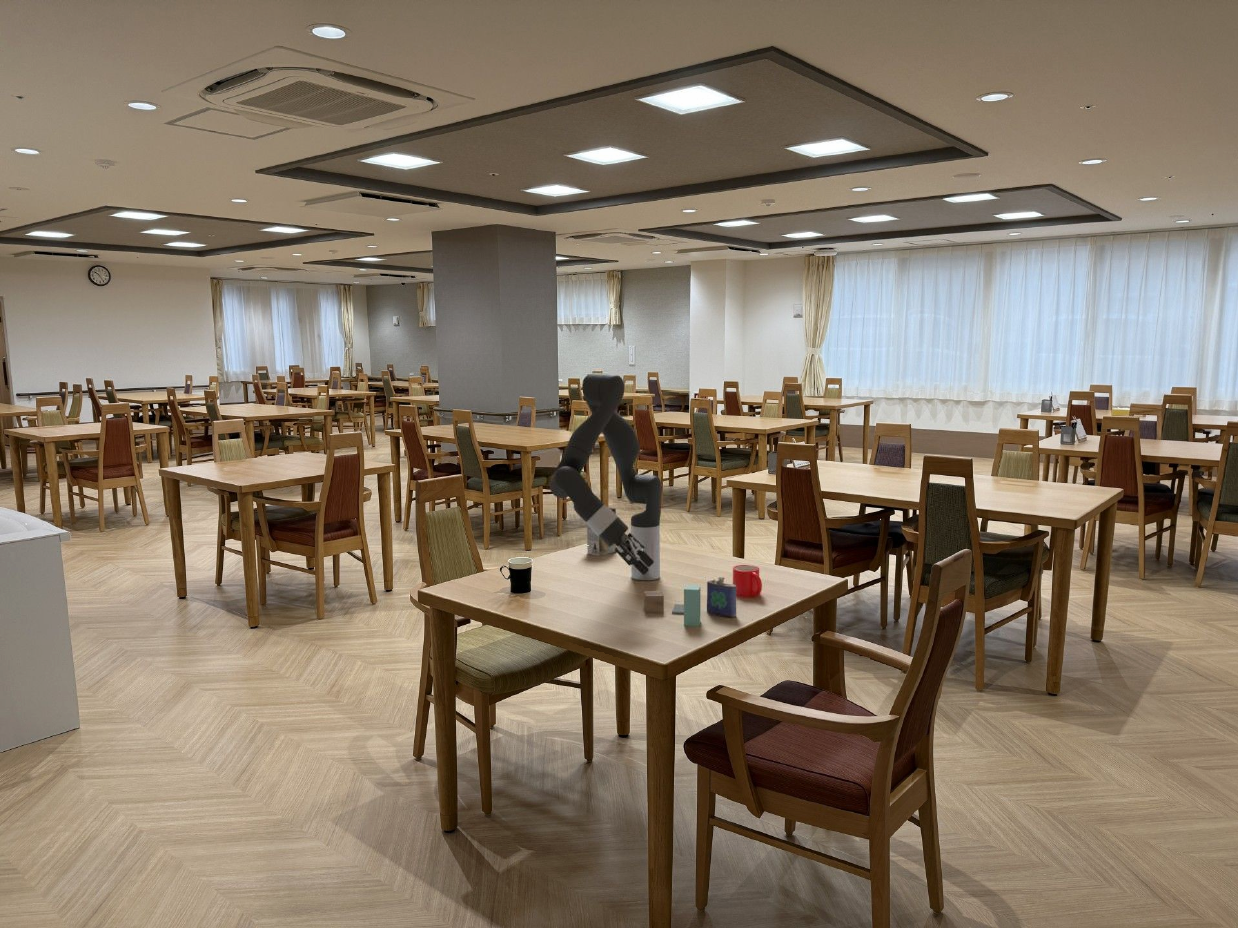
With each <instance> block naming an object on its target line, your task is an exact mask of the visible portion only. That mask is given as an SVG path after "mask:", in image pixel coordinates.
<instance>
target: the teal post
mask: <svg viewBox="0 0 1238 928" xmlns="http://www.w3.org/2000/svg"><path fill="white" fill-rule="evenodd" d="M683 605H684V614H683V626H685V627H687V626H690V627H699V626H700V624H701V585H693V584H692V585H691V584H687V585H686V584H685V586H684V588H683Z"/></svg>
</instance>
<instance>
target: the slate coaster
mask: <svg viewBox="0 0 1238 928" xmlns="http://www.w3.org/2000/svg"><path fill="white" fill-rule="evenodd" d="M671 615H684V603H682V604H681V603H678V604H676V603H675V604H674V606H673V609H672V611H671Z"/></svg>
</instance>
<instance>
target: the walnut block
mask: <svg viewBox="0 0 1238 928" xmlns="http://www.w3.org/2000/svg"><path fill="white" fill-rule="evenodd" d="M664 597H665V596H664V593H663V591H662V590H644V591H643V600H644V601H643V602H644V603H643V608H644V611H645V613H646V614H657V613H658V614H663V613H665V603H664V602H665V601H664V599H665V598H664Z"/></svg>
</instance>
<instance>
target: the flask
mask: <svg viewBox="0 0 1238 928" xmlns="http://www.w3.org/2000/svg"><path fill="white" fill-rule="evenodd" d="M717 579H718V580H717ZM717 579H713V580H712V579H711V580H708V581H707V582H706V585H707V586H706V613H707V614H710V615H714V616H719V617H724V618H729V619H730V618H731V619H734V618H736V617H737V596H736V590H737V588H736V585H733V583H725V581H724V580H725V579H726V578H725V577H724V576H720V577H719V576H718V577H717Z"/></svg>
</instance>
